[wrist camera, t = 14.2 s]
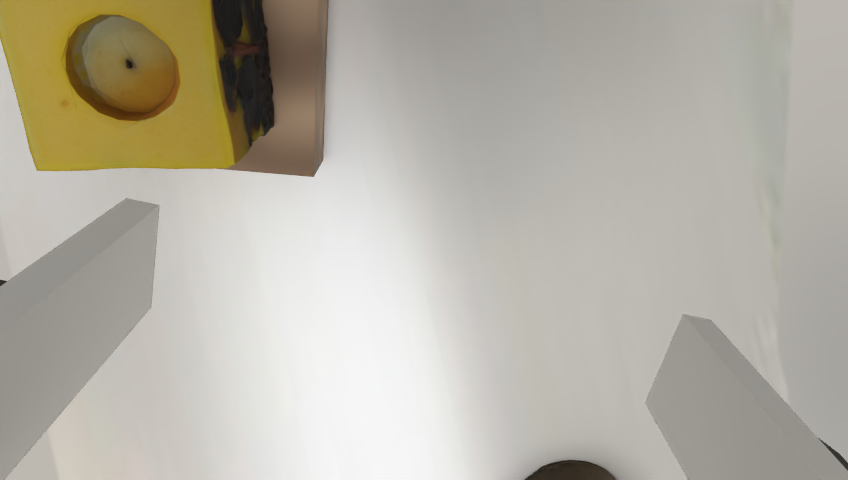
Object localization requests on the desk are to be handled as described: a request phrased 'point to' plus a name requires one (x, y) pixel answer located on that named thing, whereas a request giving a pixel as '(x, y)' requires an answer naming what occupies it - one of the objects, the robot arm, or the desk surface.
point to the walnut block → (293, 89)
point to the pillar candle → (571, 472)
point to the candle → (139, 81)
